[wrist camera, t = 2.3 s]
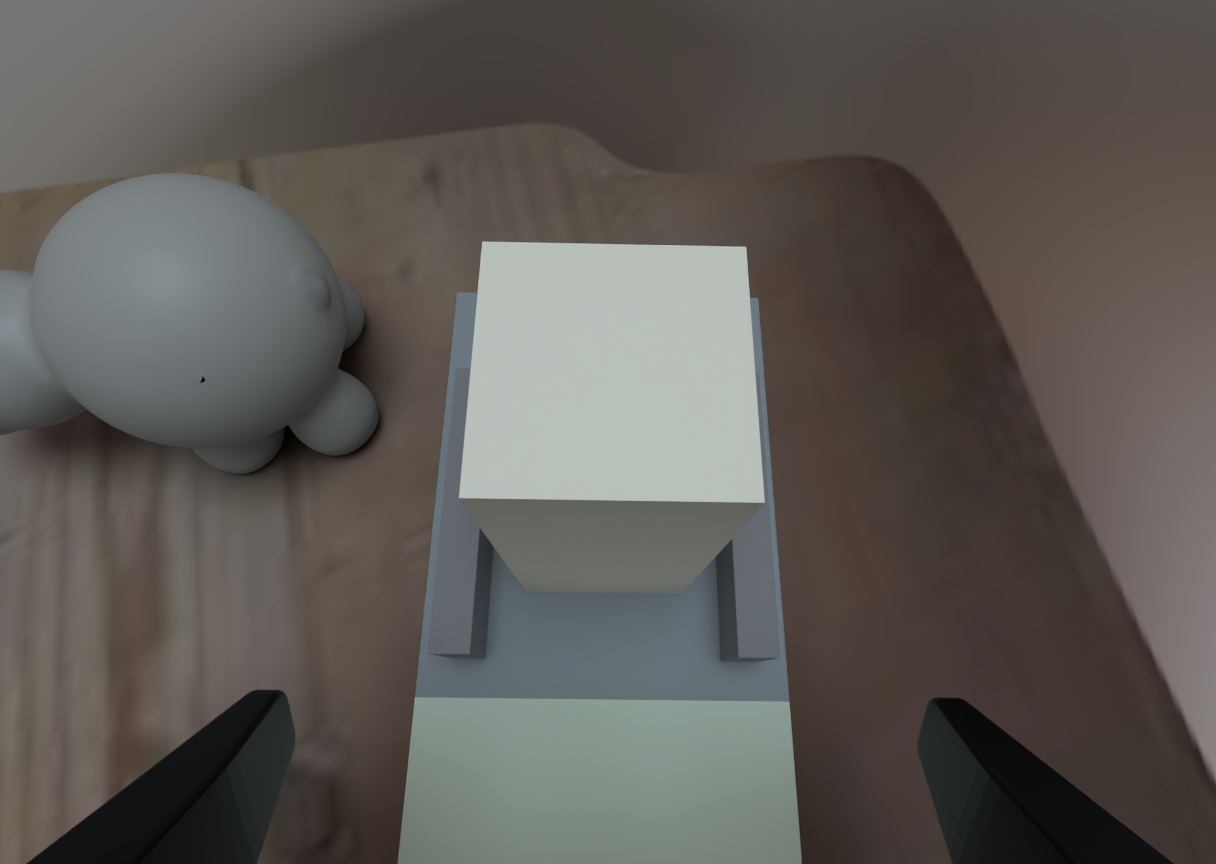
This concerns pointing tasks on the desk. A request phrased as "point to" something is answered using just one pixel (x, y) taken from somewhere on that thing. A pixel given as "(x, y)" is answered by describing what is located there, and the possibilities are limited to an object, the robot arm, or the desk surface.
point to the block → (611, 413)
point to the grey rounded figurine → (185, 325)
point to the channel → (597, 698)
